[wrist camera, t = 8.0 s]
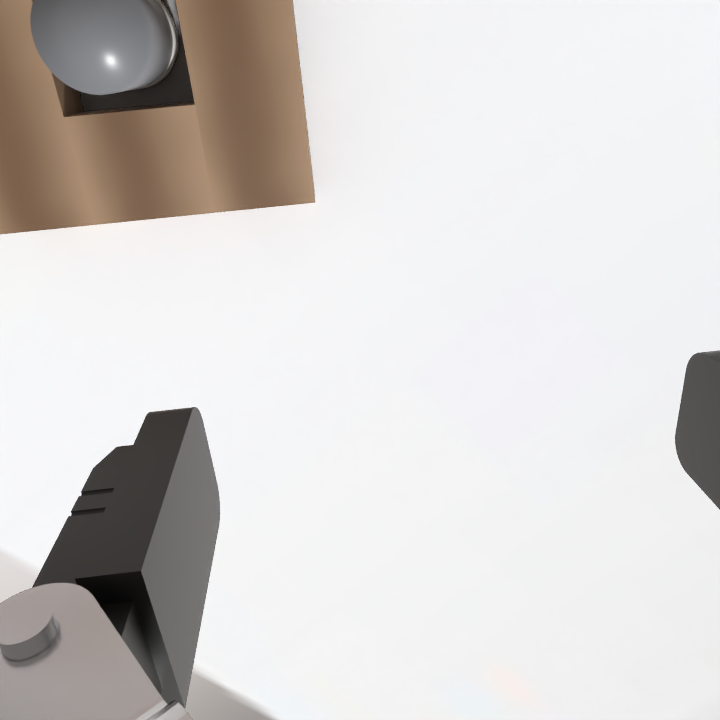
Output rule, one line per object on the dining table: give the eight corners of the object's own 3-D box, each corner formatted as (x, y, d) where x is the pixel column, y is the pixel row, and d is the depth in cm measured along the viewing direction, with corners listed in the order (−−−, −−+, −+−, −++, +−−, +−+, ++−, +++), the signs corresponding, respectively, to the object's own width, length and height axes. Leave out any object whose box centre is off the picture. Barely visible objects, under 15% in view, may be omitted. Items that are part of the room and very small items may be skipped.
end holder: (271, -187, 27) (267, -213, 24) (314, 190, 34) (314, 202, 31) (-108, -156, 27) (-155, -179, 24) (15, 220, 34) (-10, 235, 31)
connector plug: (168, -21, 29) (133, -40, 24) (188, 83, 31) (160, 90, 26) (71, -12, 29) (12, -29, 23) (97, 92, 31) (49, 101, 25)
